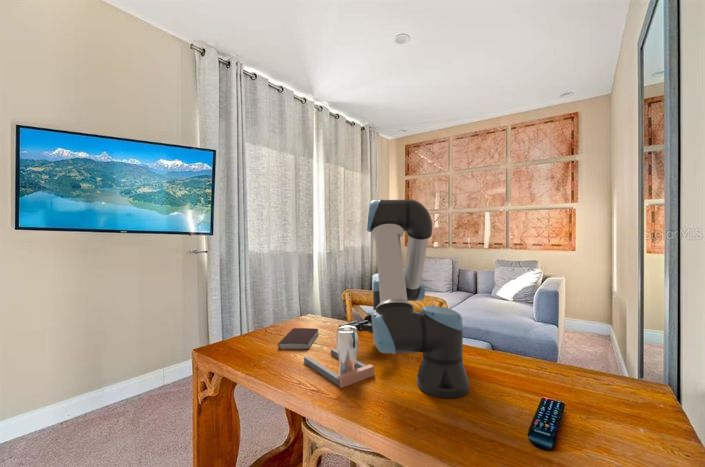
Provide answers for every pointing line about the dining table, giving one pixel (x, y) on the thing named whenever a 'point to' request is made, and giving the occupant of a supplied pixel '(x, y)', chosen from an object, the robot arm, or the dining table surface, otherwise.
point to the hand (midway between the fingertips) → (355, 338)
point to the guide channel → (346, 378)
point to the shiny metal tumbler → (347, 348)
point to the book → (299, 339)
